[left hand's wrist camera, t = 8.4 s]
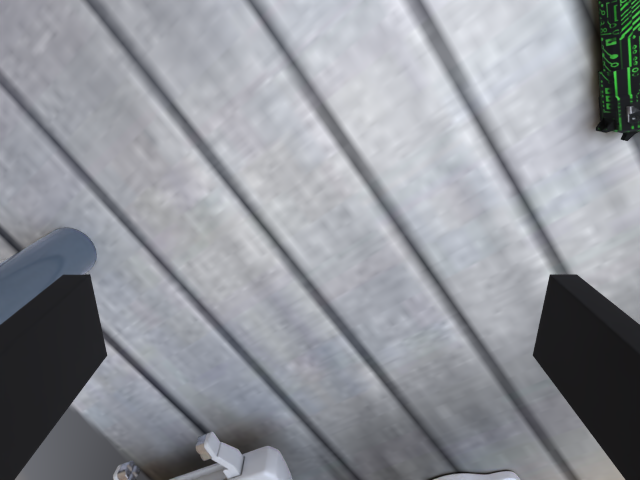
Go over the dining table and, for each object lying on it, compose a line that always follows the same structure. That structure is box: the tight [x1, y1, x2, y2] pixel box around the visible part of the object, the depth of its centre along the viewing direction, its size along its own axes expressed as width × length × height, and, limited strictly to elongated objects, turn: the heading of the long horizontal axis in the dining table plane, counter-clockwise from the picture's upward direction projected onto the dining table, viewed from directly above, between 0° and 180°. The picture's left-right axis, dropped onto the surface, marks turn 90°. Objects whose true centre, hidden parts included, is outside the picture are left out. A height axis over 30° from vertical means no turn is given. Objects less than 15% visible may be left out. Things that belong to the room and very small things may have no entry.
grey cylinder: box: [0, 228, 96, 325], centre depth 34 cm, size 5×5×17 cm
